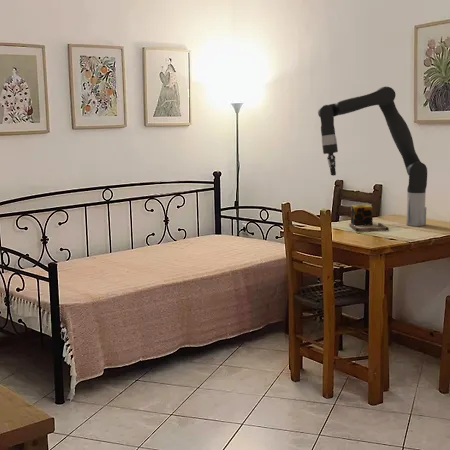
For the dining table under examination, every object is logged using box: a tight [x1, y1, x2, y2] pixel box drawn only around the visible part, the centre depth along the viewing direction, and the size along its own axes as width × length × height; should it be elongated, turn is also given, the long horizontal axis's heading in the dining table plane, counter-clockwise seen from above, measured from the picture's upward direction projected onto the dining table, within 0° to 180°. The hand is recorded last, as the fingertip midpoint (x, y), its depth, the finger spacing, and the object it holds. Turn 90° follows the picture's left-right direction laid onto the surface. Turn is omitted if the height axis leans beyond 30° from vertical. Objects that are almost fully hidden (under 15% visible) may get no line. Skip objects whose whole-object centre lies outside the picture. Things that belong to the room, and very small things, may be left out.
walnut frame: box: [348, 222, 389, 232], centre depth 358 cm, size 16×15×2 cm
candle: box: [350, 204, 374, 226], centre depth 372 cm, size 10×10×10 cm
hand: (333, 175), depth 362 cm, fingers open, 8 cm apart
